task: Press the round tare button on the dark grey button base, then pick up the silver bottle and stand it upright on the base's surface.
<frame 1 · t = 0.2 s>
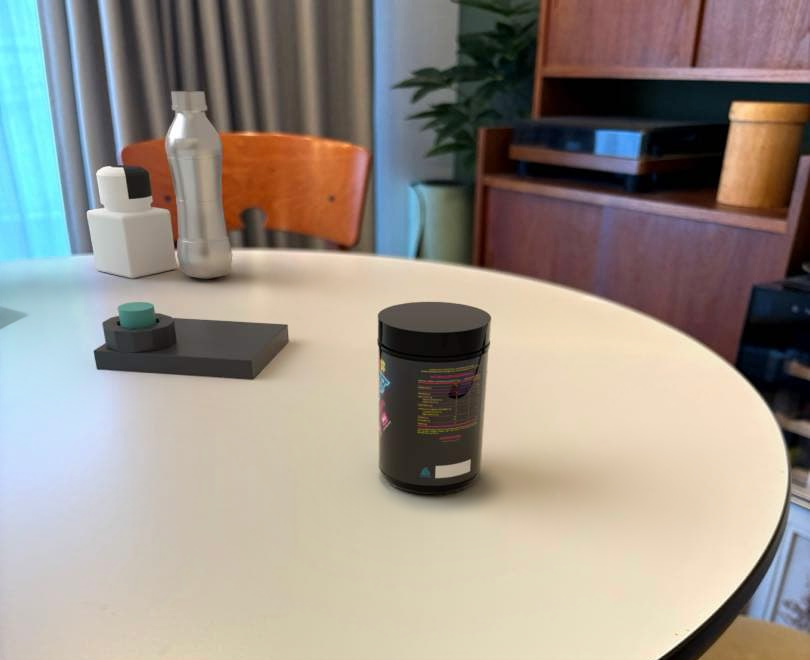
supplement container: (429, 478, 54), on the table
tare button: (137, 316, 71), point 4 cm above the table, slide at 0.1 cm
medicine bottle: (137, 271, 104), on the table
dark grey button base: (197, 355, 75), on the table
silver bottle: (207, 279, 101), on the table
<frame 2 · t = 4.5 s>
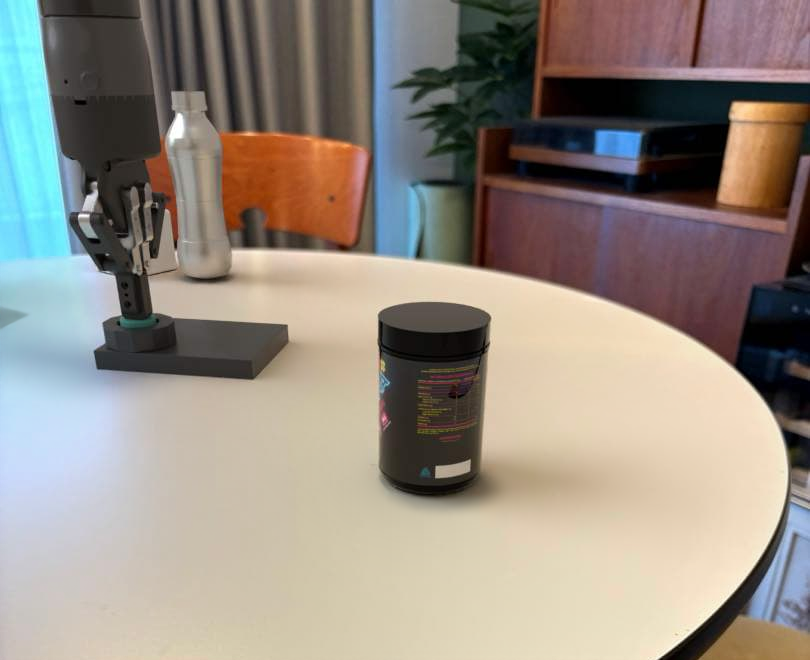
hand: (137, 317, 71), 4 cm above the table, tool pointing down, fingers closed
tare button: (139, 327, 72), point 3 cm above the table, slide at -0.9 cm, touching gripper
everything else where it was.
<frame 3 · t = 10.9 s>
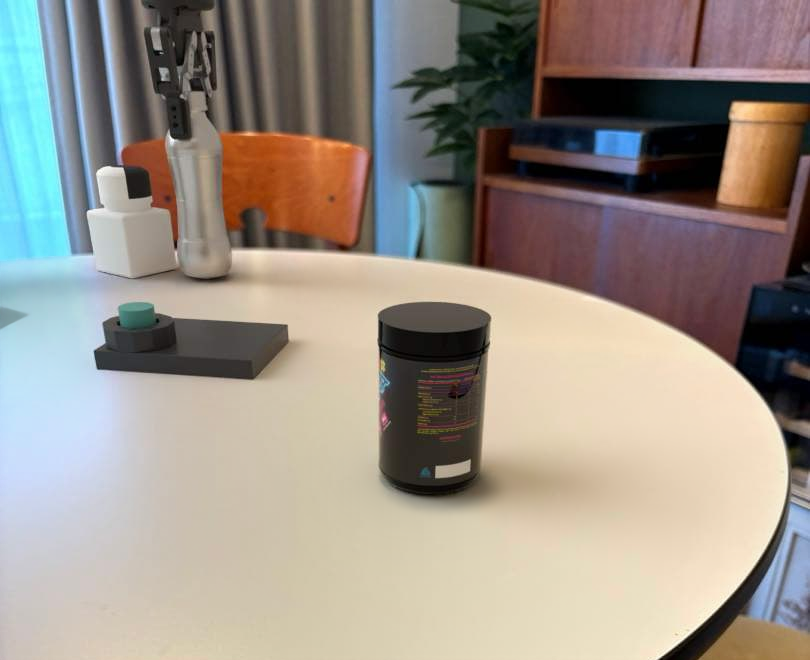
hand: (192, 136, 93), 16 cm above the table, tool pointing down, fingers closed on silver bottle, 6 cm apart
tare button: (137, 316, 71), point 4 cm above the table, slide at 0.1 cm
silver bottle: (207, 279, 101), on the table, touching gripper
everything else where it was.
when the fingers open (17 cm above the table, at t = 18.6 s): silver bottle stays where it is, resting on dark grey button base.
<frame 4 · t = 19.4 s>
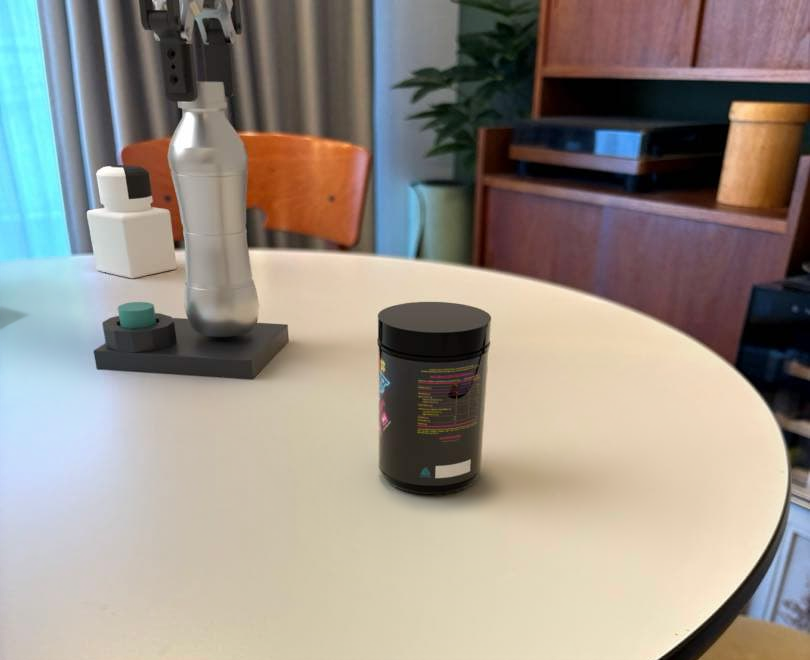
hand: (203, 98, 65), 21 cm above the table, tool pointing down, fingers open, 8 cm apart
silver bottle: (225, 336, 75), point 2 cm above the table, touching dark grey button base
everything else where it was.
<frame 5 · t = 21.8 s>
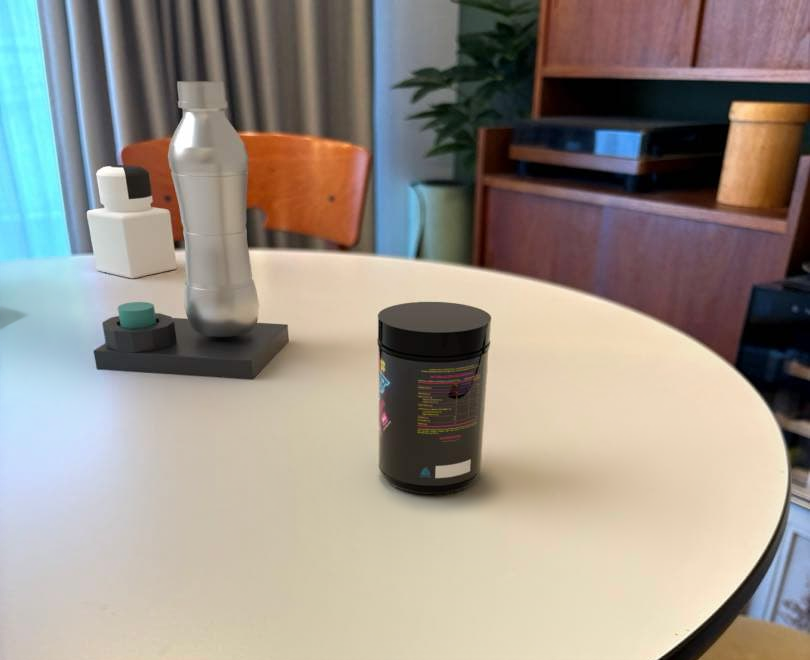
nothing on the table moved.
at the end: tare button pushed in 1.1 cm at the most during the clip, back to where it started at the end; silver bottle inside the target area on the dark grey button base (0.9 cm from its centre), point 1.5 cm above the dark grey button base's base; silver bottle tilted 0° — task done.
